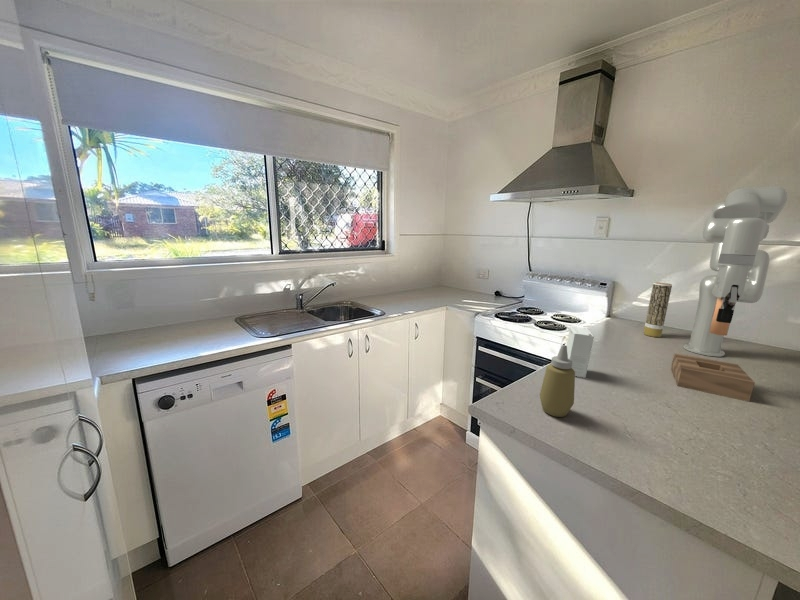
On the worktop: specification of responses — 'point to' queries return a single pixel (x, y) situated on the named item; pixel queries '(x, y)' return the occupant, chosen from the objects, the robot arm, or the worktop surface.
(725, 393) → the socket block
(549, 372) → the squeeze bottle
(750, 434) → the worktop surface
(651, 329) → the brown textured cylinder
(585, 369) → the skincare box
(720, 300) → the peg
